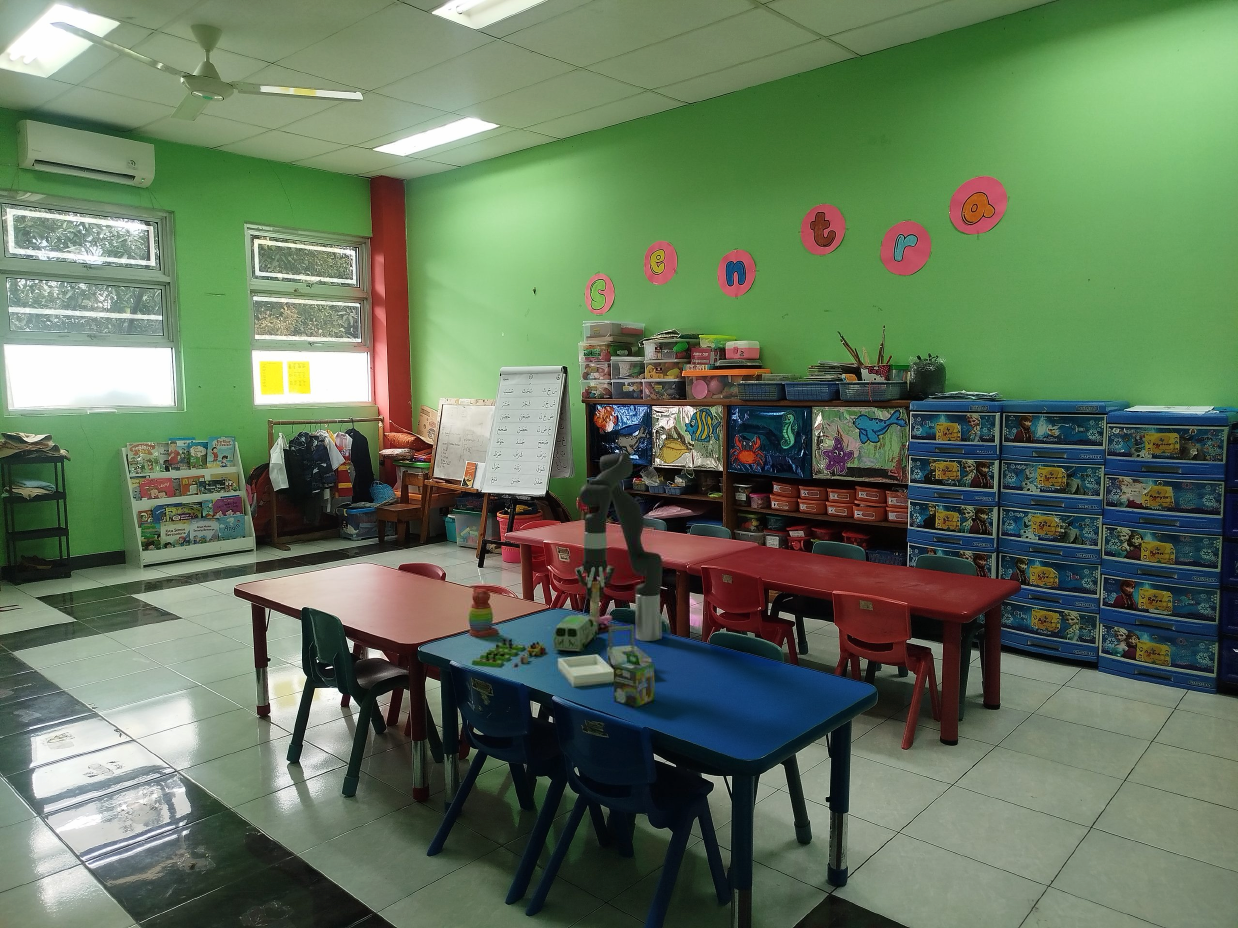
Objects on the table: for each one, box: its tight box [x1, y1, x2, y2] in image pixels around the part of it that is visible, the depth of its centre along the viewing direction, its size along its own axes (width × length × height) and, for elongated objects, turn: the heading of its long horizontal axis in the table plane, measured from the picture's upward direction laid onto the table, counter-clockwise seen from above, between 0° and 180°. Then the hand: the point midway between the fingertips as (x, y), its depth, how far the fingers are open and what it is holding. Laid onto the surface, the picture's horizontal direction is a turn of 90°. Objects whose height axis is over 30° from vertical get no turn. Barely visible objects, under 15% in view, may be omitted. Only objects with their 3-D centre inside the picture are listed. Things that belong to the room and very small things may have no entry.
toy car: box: [552, 614, 598, 653], centre depth 309 cm, size 11×25×10 cm, turn 166°
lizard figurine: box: [576, 614, 621, 636], centre depth 331 cm, size 15×20×7 cm
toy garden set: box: [471, 638, 547, 668], centre depth 294 cm, size 23×19×5 cm
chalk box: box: [613, 652, 656, 708], centre depth 251 cm, size 9×9×15 cm
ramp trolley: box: [606, 624, 652, 668], centre depth 279 cm, size 10×16×13 cm, turn 19°
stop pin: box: [589, 581, 600, 620], centre depth 273 cm, size 3×3×12 cm
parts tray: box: [557, 654, 614, 688], centre depth 274 cm, size 14×19×4 cm
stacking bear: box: [468, 587, 499, 638], centre depth 324 cm, size 11×10×18 cm
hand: (594, 597), depth 273 cm, fingers closed on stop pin, 3 cm apart
